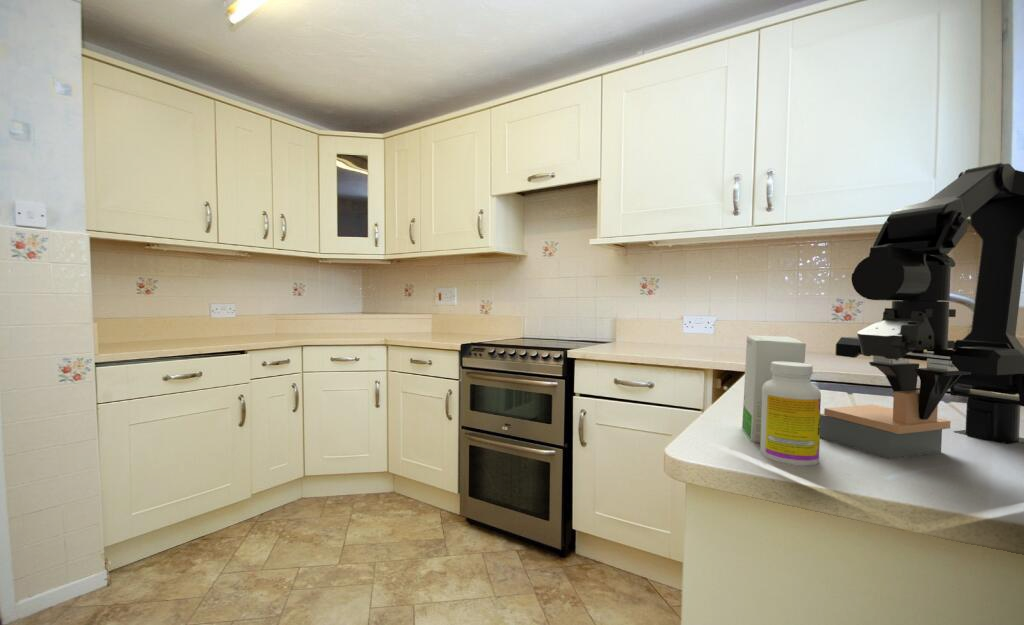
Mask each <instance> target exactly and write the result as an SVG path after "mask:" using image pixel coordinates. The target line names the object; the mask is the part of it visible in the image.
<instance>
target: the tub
mask: <svg viewBox="0 0 1024 625" xmlns="http://www.w3.org/2000/svg"><path fill="white" fill-rule="evenodd" d="M942 437H943V429H940V430H931V431H922V432H913V433H904V434H896V433H892V432H888V431H885V430H881V429H877V428H873V427H869V426H865V425H861V424H857V423H854V422H850V421H846V420H842V419H838V418H834V417H830V416H826V415H824V413H820V438H821V439H824V440H828V441H831V442H832V443H833V442H834V443H837V444H840V445H843V446H846V447H850V448H853V449H856V450H859V451H863V452H865V453H870V454H872V455H875V456H879V457H882V458H884V459H889V460H895V459H900V458H909V457H916V456H922V455H931V454H940V453H942V445H943V444H942V439H943V438H942Z"/></svg>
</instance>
